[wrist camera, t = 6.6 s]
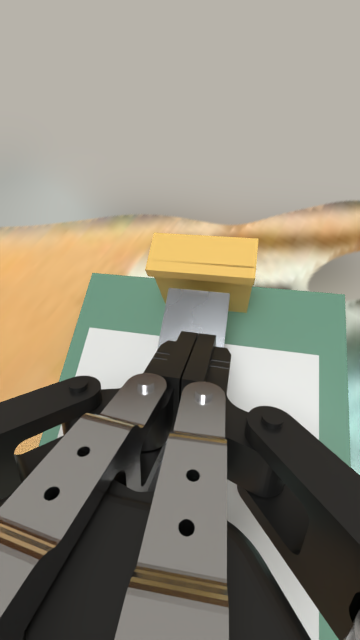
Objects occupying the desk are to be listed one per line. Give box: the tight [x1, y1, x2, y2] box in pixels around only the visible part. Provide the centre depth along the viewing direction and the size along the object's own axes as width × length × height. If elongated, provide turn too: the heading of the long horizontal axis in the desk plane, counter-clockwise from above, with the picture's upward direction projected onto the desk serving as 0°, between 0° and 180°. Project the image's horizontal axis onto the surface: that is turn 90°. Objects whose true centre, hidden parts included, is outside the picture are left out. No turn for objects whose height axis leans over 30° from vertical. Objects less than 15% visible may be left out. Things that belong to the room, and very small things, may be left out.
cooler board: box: [39, 233, 351, 640], centre depth 13 cm, size 21×16×6 cm
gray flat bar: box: [147, 288, 230, 492], centre depth 12 cm, size 16×3×1 cm, turn 171°
